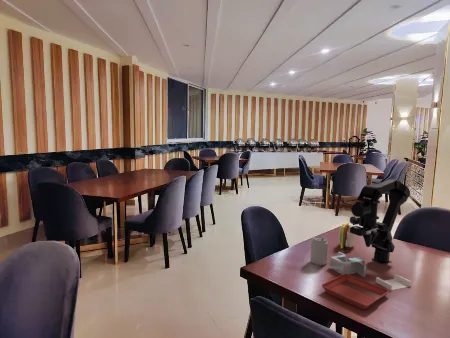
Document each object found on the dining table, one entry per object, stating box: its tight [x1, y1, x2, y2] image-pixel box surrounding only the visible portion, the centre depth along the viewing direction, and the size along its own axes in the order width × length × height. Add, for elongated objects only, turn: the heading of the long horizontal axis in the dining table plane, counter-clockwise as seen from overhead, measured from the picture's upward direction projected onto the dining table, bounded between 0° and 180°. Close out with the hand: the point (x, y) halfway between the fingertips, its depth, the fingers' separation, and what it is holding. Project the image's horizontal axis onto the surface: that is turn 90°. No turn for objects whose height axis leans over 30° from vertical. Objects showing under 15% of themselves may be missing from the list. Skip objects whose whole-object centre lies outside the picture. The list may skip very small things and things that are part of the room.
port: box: [329, 251, 367, 278], centre depth 137 cm, size 8×16×6 cm, turn 21°
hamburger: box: [338, 221, 357, 249], centre depth 168 cm, size 12×8×12 cm
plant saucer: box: [321, 274, 390, 310], centre depth 116 cm, size 18×18×3 cm
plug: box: [346, 256, 365, 264], centre depth 139 cm, size 7×4×4 cm, turn 111°
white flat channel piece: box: [375, 273, 412, 291], centre depth 124 cm, size 11×7×2 cm, turn 111°
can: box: [309, 236, 329, 266], centre depth 145 cm, size 8×8×12 cm
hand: (367, 246), depth 141 cm, fingers closed
